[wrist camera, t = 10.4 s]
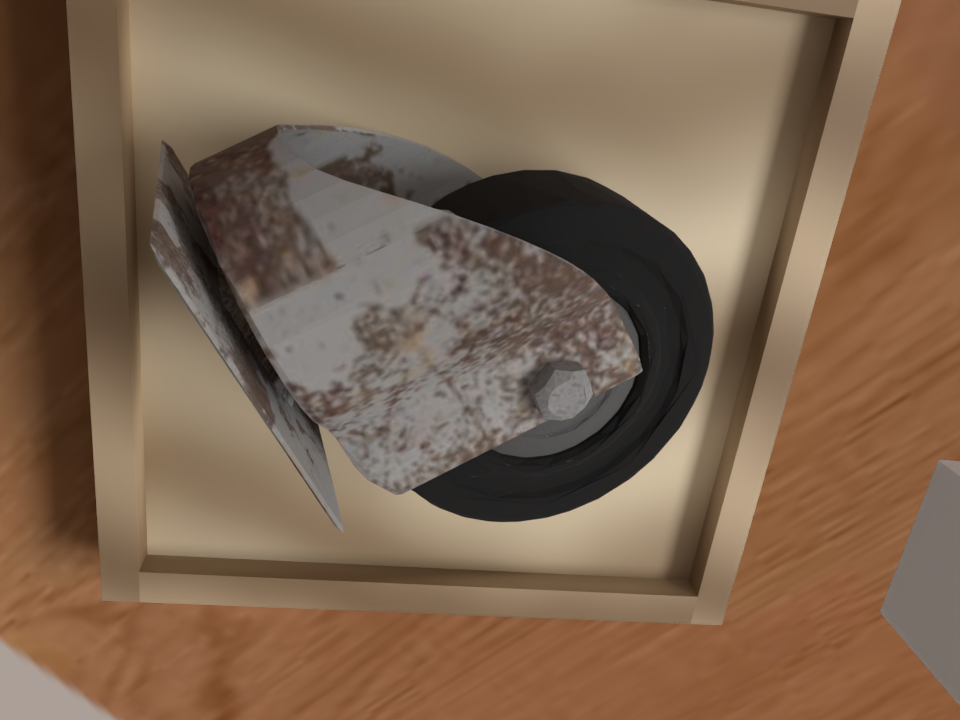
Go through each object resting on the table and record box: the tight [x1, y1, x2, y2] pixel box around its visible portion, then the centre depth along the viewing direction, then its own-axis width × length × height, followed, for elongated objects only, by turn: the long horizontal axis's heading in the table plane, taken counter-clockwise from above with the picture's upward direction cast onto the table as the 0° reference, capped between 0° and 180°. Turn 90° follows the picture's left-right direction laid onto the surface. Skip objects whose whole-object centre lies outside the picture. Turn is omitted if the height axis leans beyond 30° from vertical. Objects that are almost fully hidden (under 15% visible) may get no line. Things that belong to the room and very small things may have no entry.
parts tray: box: [66, 0, 901, 625], centre depth 21 cm, size 18×18×2 cm
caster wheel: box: [150, 124, 714, 533], centre depth 18 cm, size 7×11×10 cm
